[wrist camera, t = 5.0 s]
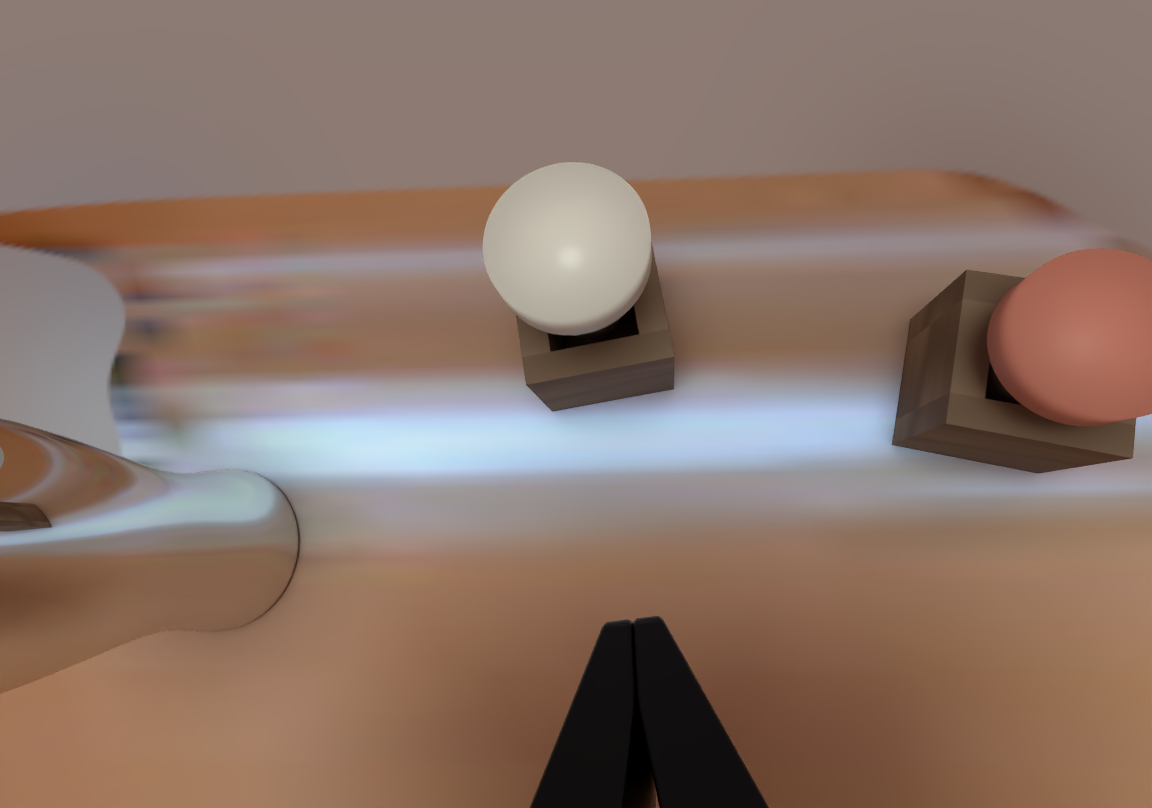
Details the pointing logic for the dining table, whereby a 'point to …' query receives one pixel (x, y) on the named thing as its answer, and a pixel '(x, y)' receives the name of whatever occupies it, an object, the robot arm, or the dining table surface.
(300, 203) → the dining table surface
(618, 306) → the ivory key
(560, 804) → the robot arm
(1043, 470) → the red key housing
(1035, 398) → the red rounded knob
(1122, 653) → the dining table surface
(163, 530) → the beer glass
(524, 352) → the ivory key housing
